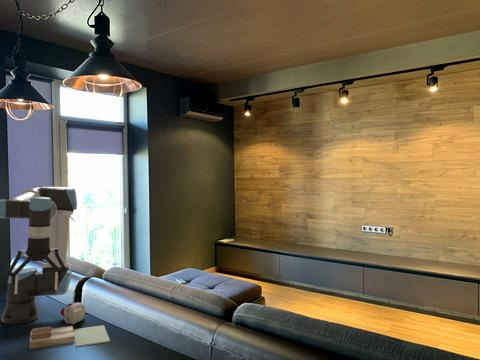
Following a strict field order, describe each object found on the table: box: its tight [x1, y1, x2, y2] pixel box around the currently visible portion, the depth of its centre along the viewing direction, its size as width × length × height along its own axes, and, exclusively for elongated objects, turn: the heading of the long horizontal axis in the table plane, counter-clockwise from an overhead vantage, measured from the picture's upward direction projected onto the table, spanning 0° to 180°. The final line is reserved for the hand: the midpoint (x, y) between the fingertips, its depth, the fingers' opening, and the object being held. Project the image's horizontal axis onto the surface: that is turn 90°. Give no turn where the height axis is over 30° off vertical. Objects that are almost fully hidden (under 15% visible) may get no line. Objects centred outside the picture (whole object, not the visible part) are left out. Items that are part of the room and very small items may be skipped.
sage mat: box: [73, 325, 111, 348], centre depth 156 cm, size 18×13×1 cm
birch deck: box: [29, 325, 75, 350], centre depth 150 cm, size 12×16×2 cm
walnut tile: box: [31, 325, 52, 340], centre depth 148 cm, size 7×7×2 cm
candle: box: [60, 301, 86, 325], centre depth 171 cm, size 9×11×15 cm
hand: (36, 291), depth 140 cm, fingers open, 13 cm apart
